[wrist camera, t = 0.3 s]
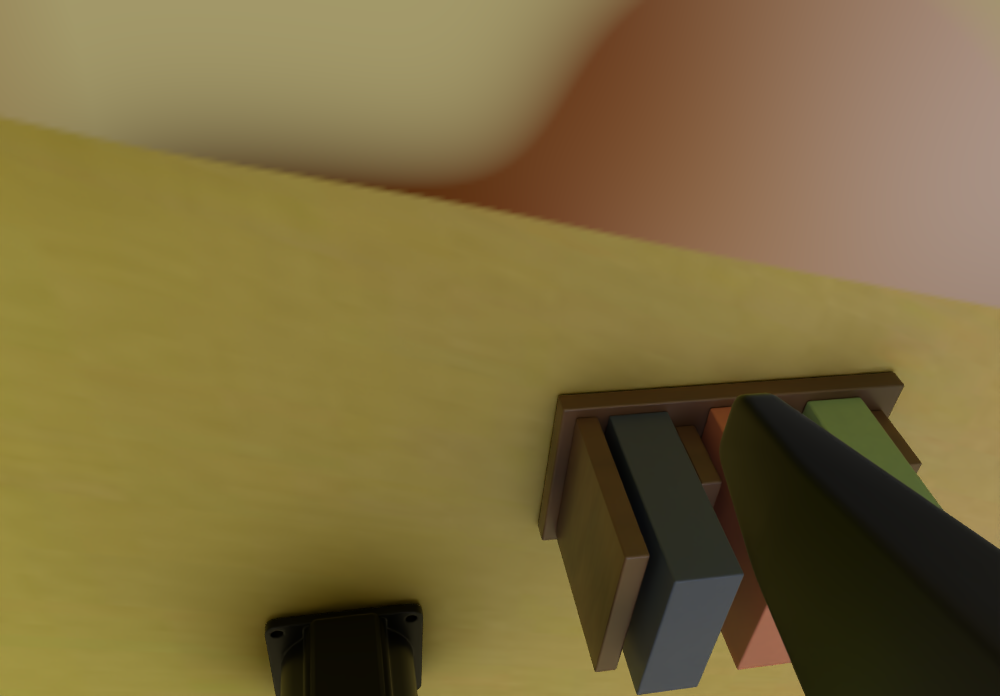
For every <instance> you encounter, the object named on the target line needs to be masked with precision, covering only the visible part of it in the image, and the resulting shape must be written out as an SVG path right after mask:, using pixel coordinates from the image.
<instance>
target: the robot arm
mask: <svg viewBox="0 0 1000 696" xmlns="http://www.w3.org/2000/svg"><path fill="white" fill-rule="evenodd" d="M719 455H720V461H721V465H722V469H723V472H724V475H725V479H726V482H727V486H728V489H729V492H730V496H731V499H732V502H733V506H734V509H735V513H736V516H737V519H738V523H739V526H740V529H741V533H742V536H743V540H744V543H745V546H746V550H747V553H748V556H749V559H750V562H751V565H752V568H753V571H754V574H755V577H756V579H757V582H758V584H759V587H760V589H761V592H762V594H763V597H764V599H765V601H766V604H767V606H768V608H769V611H770V613H771V616H772V618H773V620H774V623H775V625H776V627H777V630H778V632H779V634H780V637H781V639H782V642H783V644H784V646H785V649H786V651H787V653H788V656H789V658H790V660H791V663H792V665H793V668H794V670H795V672H796V675H797V677H798V679H799V682H800V684H801V686H802V689H803V691H804V694H805V696H1000V549H999V548H997V547H996V546H994V545H993V544H991V543H990V542H988V541H987V540H985V539H984V538H983V537H981V536H980V535H978V534H977V533H975V532H974V531H972V530H971V529H969V528H968V527H967V526H965V525H964V524H962V523H961V522H959V521H958V520H956V519H955V518H953V517H952V516H950V515H949V514H948V513H946V512H945V511H943V510H942V509H940V508H939V507H937V506H936V505H934V504H933V503H932V502H930V501H929V500H927V499H926V498H924V497H923V496H921V495H920V494H918V493H917V492H915V491H914V490H913V489H911V488H910V487H908V486H907V485H905V484H904V483H902V482H901V481H899V480H898V479H897V478H895V477H894V476H892V475H891V474H889V473H888V472H886V471H885V470H883V469H882V468H880V467H879V466H878V465H876V464H875V463H873V462H872V461H870V460H869V459H867V458H866V457H864V456H863V455H862V454H860V453H859V452H857V451H856V450H854V449H853V448H851V447H850V446H848V445H847V444H846V443H844V442H843V441H841V440H840V439H838V438H837V437H835V436H834V435H832V434H831V433H829V432H828V431H827V430H825V429H824V428H822V427H821V426H819V425H818V424H816V423H815V422H813V421H812V420H811V419H809V418H808V417H806V416H805V415H803V414H802V413H800V412H799V411H797V410H796V409H794V408H793V407H792V406H790V405H789V404H787V403H786V402H784V401H783V400H781V399H780V398H778V397H777V396H775V395H773V394H771V393H755V394H743V395H740V396H738V397H737V398H736V399H735V400H734V402H733V404H732V407H731V410H730V413H729V416H728V419H727V422H726V425H725V428H724V432H723V435H722V438H721V441H720V447H719ZM422 634H423V614H422V608H421V606H419V605H417V604H404V605H395V606H386V607H377V608H368V609H359V610H350V611H342V612H333V613H324V614H315V615H306V616H297V617H288V618H279V619H273V620H271V621H269V622H267V624H266V626H265V639H266V644H267V650H268V655H269V661H270V666H271V672H272V677H273V682H274V688H275V693H276V696H418V694H417V690H418V689H419V688H420V687H421V673H422Z"/></svg>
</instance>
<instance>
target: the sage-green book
mask: <svg viewBox="0 0 1000 696" xmlns="http://www.w3.org/2000/svg"><path fill="white" fill-rule="evenodd" d="M802 414H803V415H805V416H806V417H808V418H809V419H811V420H812V421H813V422H815V423H816V424H818V425H819V426H821V427H822V428H824V429H825V430H827V431H828V432H829V433H831V434H832V435H834V436H835V437H837V438H838V439H840V440H841V441H843V442H844V443H846V444H847V445H848V446H850V447H851V448H853V449H854V450H856V451H857V452H859V453H860V454H862V455H863V456H864V457H866V458H867V459H869V460H870V461H872V462H873V463H875V464H876V465H878V466H879V467H880V468H882V469H883V470H885V471H886V472H888V473H889V474H891V475H892V476H894V477H895V478H897V479H898V480H899V481H901V482H902V483H904V484H905V485H907V486H908V487H910V488H911V489H913V490H914V491H915V492H917V493H918V494H920V495H921V496H923V497H924V498H926V499H927V500H929V501H930V502H932V503H933V504H934V505H936V506H937V507H939V508H940V509H942V508H941V506H940V505H939V504H938V502H937V501H936V500H935V498H934V497H933V496H932V494H931V493H930V491H929V490H928V489H927V487H926V486H925V485H924V483H923V482H922V481H921V479H920V478H919V476H918V475H917V474H916V472H915V471H914V470H913V468H912V467H911V466H910V464H909V463H908V461H907V460H906V459H905V457H904V456H903V455H902V453H901V452H900V451H899V449H898V448H897V447H896V445H895V444H894V442H893V441H892V440H891V438H890V437H889V436H888V434H887V433H886V432H885V430H884V429H883V427H882V426H881V425H880V423H879V422H878V421H877V419H876V418H875V417H874V415H873V414H872V412H871V411H870V410H869V408H868V407H867V406H866V404H865V403H864V402H863V400H862V399H861V398H859V397H856V398H843V399H830V400H816V401H808V402H807V404H806V406H805V409H804V411H803V413H802ZM942 510H943V509H942Z"/></svg>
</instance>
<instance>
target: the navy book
mask: <svg viewBox="0 0 1000 696" xmlns="http://www.w3.org/2000/svg"><path fill="white" fill-rule="evenodd" d="M605 439H606V441H607V444H608V447H609V449H610V452H611V454H612V457H613V460H614V462H615V465H616V468H617V470H618V473H619V475H620V478H621V481H622V483H623V486H624V489H625V491H626V494H627V497H628V499H629V502H630V504H631V507H632V510H633V512H634V515H635V518H636V520H637V523H638V526H639V528H640V531H641V533H642V536H643V539H644V541H645V544H646V547H647V549H648V552H649V555H650V557H649V560H648V564H647V567H646V570H645V574H644V577H643V580H642V584H641V587H640V591H639V594H638V597H637V601H636V604H635V607H634V611H633V614H632V618H631V621H630V624H629V628H628V631H627V634H626V638H625V641H624V645H623V648H622V649H623V653H624V656H625V659H626V662H627V665H628V668H629V671H630V675H631V678H632V681H633V684H634V687H635V690H636V693H637V695H641V694H648V693H655V692H663V691H670V690H677V689H684V688H691V687H697V686H698V684H699V681H700V679H701V676H702V674H703V672H704V669H705V667H706V664H707V662H708V660H709V657H710V655H711V653H712V650H713V648H714V645H715V643H716V641H717V638H718V636H719V633H720V631H721V629H722V626H723V624H724V622H725V619H726V617H727V614H728V612H729V610H730V607H731V605H732V602H733V600H734V598H735V595H736V593H737V590H738V588H739V586H740V583H741V581H742V579H743V576H744V573H743V570H742V568H741V566H740V564H739V562H738V560H737V558H736V556H735V554H734V551H733V549H732V547H731V545H730V543H729V541H728V539H727V537H726V534H725V532H724V530H723V528H722V526H721V524H720V522H719V520H718V518H717V515H716V513H715V511H714V509H713V507H712V505H711V503H710V501H709V498H708V496H707V494H706V492H705V490H704V488H703V486H702V484H701V482H700V479H699V477H698V475H697V473H696V471H695V469H694V467H693V465H692V462H691V460H690V458H689V456H688V454H687V452H686V450H685V448H684V446H683V443H682V441H681V439H680V437H679V435H678V433H677V431H676V429H675V427H674V424H673V422H672V420H671V418H670V416H669V414H668V412H654V413H641V414H628V415H614V416H610V417H609V420H608V425H607V430H606V434H605Z"/></svg>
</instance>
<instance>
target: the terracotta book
mask: <svg viewBox="0 0 1000 696" xmlns="http://www.w3.org/2000/svg"><path fill="white" fill-rule="evenodd" d="M730 410H731V407H721V408H711V409H710V412H709V415H708V418H707V422H706V425H705V428H704V431H703V434H702V438H701V440H702V442H703V444H704V446H705V448H706V450H707V452H708V454H709V456H710V458H711V460H712V462H713V464H714V466H715V468H716V470H717V472H718V474H719V476H720V478H721V480H722V484H721V487H720V490H719V493H718V496H717V498H716V501H715V504H714V507H713V509H714V511H715V513H716V515H717V518H718V520H719V522H720V524H721V526H722V528H723V530H724V532H725V534H726V537H727V539H728V541H729V543H730V545H731V547H732V549H733V551H734V554H735V556H736V558H737V560H738V562H739V564H740V566H741V568H742V570H743V573H744V576H743V579H742V581H741V583H740V586H739V588H738V590H737V593H736V595H735V598H734V600H733V602H732V605H731V607H730V610H729V612H728V614H727V617H726V619H725V622H724V624H723V626H722V629H721V632H722V634H723V637H724V639H725V641H726V644H727V646H728V649H729V651H730V653H731V656H732V658H733V660H734V663H735V665H736V668H737V669H738V670H740V669H747V668H754V667H762V666H769V665H777V664H784V663H791V660H790V658H789V656H788V653H787V651H786V649H785V646H784V644H783V642H782V639H781V637H780V634H779V632H778V630H777V627H776V625H775V623H774V620H773V618H772V616H771V613H770V611H769V608H768V606H767V604H766V601H765V599H764V597H763V594H762V592H761V589H760V587H759V584H758V582H757V579H756V577H755V574H754V571H753V568H752V565H751V562H750V559H749V556H748V553H747V550H746V546H745V543H744V540H743V536H742V533H741V529H740V526H739V523H738V519H737V516H736V513H735V509H734V506H733V502H732V499H731V496H730V492H729V489H728V486H727V482H726V479H725V475H724V472H723V469H722V465H721V461H720V455H719V447H720V441H721V438H722V435H723V432H724V428H725V425H726V422H727V419H728V416H729V413H730Z"/></svg>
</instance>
